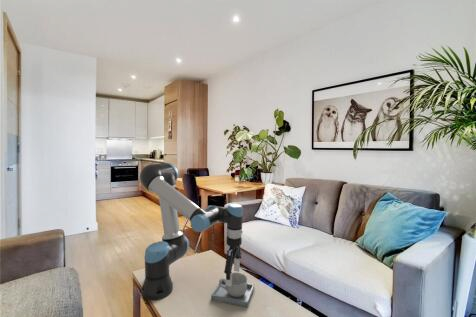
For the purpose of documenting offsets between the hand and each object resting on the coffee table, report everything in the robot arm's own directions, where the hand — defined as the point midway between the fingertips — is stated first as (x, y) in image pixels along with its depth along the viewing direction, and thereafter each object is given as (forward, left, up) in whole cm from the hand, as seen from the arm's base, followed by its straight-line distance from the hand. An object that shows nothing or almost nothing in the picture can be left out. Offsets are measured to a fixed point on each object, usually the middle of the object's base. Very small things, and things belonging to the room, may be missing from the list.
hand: (232, 277), depth 120 cm
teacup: (0, 0, -8) cm, 8 cm away
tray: (+1, 0, -8) cm, 8 cm away
